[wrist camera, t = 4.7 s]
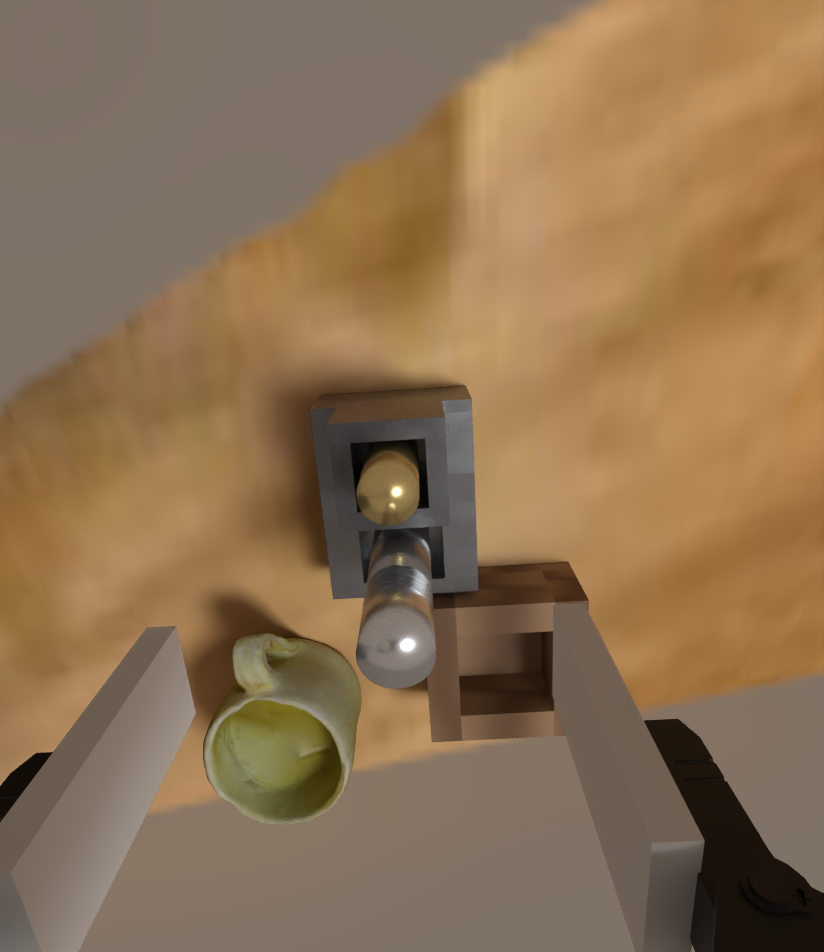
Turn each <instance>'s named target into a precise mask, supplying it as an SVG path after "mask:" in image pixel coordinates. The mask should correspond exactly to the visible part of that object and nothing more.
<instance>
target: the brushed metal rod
mask: <svg viewBox="0 0 824 952" xmlns="http://www.w3.org/2000/svg"><path fill="white" fill-rule="evenodd" d="M356 659H357V663H358V666H359V668H360V670H361V672H362V673H363V674H364V675H365V676H366V677H367V678H368V679H369V680H370V681H372V682H373V683H375V684H377V685H379V686H382V687H386V688H392V689H401V688H407V687H411V686H414V685H416V684H418V683H419V682H421V681H423V680H424V679H425V678H426V677H427V676H428V675H429V674H430V672H431V671H432V669H433V667H434V664H435V660H436V645H435V627H434V609H433V591H432V573H431V554H430V536H429V527H418V528H402V529H385V530H375V532H374V539H373V545H372V552H371V558H370V565H369V571H368V578H367V584H366V591H365V597H364V604H363V610H362V617H361V623H360V630H359V636H358V643H357V649H356Z"/></svg>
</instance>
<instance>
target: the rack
mask: <svg viewBox="0 0 824 952" xmlns="http://www.w3.org/2000/svg"><path fill="white" fill-rule="evenodd" d="M578 603H584V604H585V606H586V608H587V610H589V600H588V598H587V596H586V594H585V592H584V591H583V589H582V587H581V585H580V583H579V581H578V579H577V577H576V575H575V573H574V572H573V570H572V568H571V566H570V564H569V562H563V563H545V564H528V565H511V566H494V567H478V591H469V592H451V593H434V594H433V609H434V627H435V645H436V660H435V664H434V667H433V669H432V671H431V672H430V674H429V675H428V676H427V682H428V696H429V710H430V724H431V738H432V742H446V741H466V740H486V739H506V738H525V737H545V736H565V732H564V729H563V726H562V723H561V720H560V717H559V714H558V711H557V708H556V705H555V702H554V698H553V695H552V686H553V605H560V604H578Z"/></svg>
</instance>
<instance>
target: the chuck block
mask: <svg viewBox="0 0 824 952" xmlns="http://www.w3.org/2000/svg"><path fill="white" fill-rule="evenodd" d="M310 418H311V426H312V434H313V442H314V450H315V458H316V466H317V474H318V482H319V490H320V498H321V506H322V514H323V522H324V530H325V538H326V546H327V554H328V562H329V570H330V578H331V586H332V594H333V599H346V598H363V597H365V591H366V584H367V578H368V571H369V565H370V558H371V552H372V545H373V539H374V532H375V530H385V529H402V528H418V527H429V536H430V554H431V573H432V591H433V594H434V593H451V592H469V591H478V564H477V535H476V507H475V479H474V450H473V422H472V399H471V396H470V394H469V392H468V390H467V387H466V386H455V387H440V388H425V389H409V390H394V391H379V392H364V393H349V394H334V395H320V396H319V398H318V399H317V400H316V402H315V403H314V404H313V406H312V407H311V408H310ZM408 439H415V440H416V442H417V445H418V450H419V503H418V506H417V509H416V510H415V512H414V513H413V515H412V516H411V517H410V518H408V519H407V520H405V521H404V522H402V523H399V524H395V525H381V524H378V523H375V522H373V521H371V520H370V519H368V518H367V517H366V516H365V515H364V514H363V513H362V511H361V510H360V508H359V506H358V503H357V496H356V494H357V488H358V484H359V480H360V477H361V473H362V469H363V465H364V461H365V458H366V454H367V450H368V446H369V443H370V442H376V441H392V440H408Z"/></svg>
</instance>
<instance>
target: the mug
mask: <svg viewBox="0 0 824 952" xmlns="http://www.w3.org/2000/svg"><path fill="white" fill-rule="evenodd" d="M232 659H233V672H234V676H235V679H236V685H235V686H234V687H233V688H232V690H231V691H230V692H229V693H228V694H227V696H226V697H225V698H224V699H223V701H222V702H221V704H220V705H219V707H218V709H217V710H216V712H215V714H214V716H213V718H212V720H211V722H210V725H209V727H208V730H207V733H206V735H205V739H204V742H203V761H204V767H205V770H206V775H207V779H208V780H209V782H210V784H211V785H212V786H213V788H214V790H215V792H216V793H217V795H218V796H219V797H221V798H222V799H224V800H226V801H228V802H230V803H231V804H232V805H234V806H235V807H236V808H237V809H238V810H239V811H240V812H241V813H242V814H244V815H245V816H247V817H249V818H251V819H254V820H256V821H257V822H261V823H270V824H293V823H296V822H307V821H310V820H312V819H314V818H315V817H317V816H318V815H320V814H323V813H325V812H326V811H328V810H329V809H330V808H331V807H332V806H333V805H334V804H335V803H336V801H338V799H339V798H340V796H341V795H342V794H343V792H344V791H345V789H346V786H347V784H348V781H349V779H350V775H351V771H352V767H353V761H354V751H355V742H356V729H357V722H358V718H359V715H360V710H361V689H360V684H359V681H358V678H357V676H356V674H355V672H354V670H353V668H352V667H351V665H350V664H349V663H348V661H347V660H346V659H345V658H344V657H343V656H342V655H341V654H340V653H338V652H337V651H335V650H333V649H331V648H329V647H327V646H325V645H323V644H321V643H318V642H315V641H311V640H306V639H299V638H287V639H285V638H282V637H280V636H275V635H274V634H270V633H262V634H255V635H248V636H244V637H242V638H240V639H238V640H237V641H236V642H235V645H234V647H233V655H232Z"/></svg>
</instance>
